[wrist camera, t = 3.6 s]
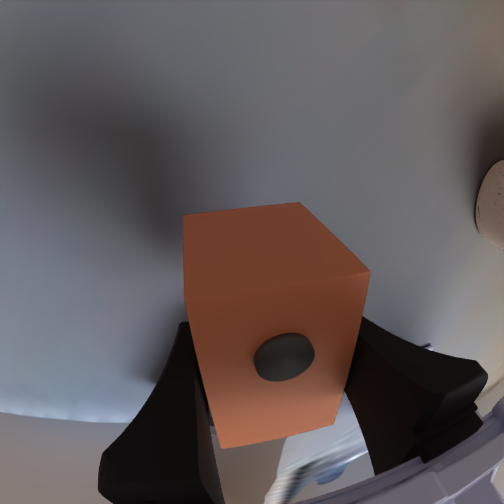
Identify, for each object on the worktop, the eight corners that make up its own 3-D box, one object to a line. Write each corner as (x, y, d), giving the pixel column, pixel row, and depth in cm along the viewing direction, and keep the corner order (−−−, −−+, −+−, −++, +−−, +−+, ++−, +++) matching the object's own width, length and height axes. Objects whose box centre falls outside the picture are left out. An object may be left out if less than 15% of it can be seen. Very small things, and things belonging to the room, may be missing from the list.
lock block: (294, 338, 17) (336, 428, 12) (206, 354, 16) (222, 454, 11) (299, 202, 13) (375, 276, 8) (182, 215, 13) (184, 308, 7)
